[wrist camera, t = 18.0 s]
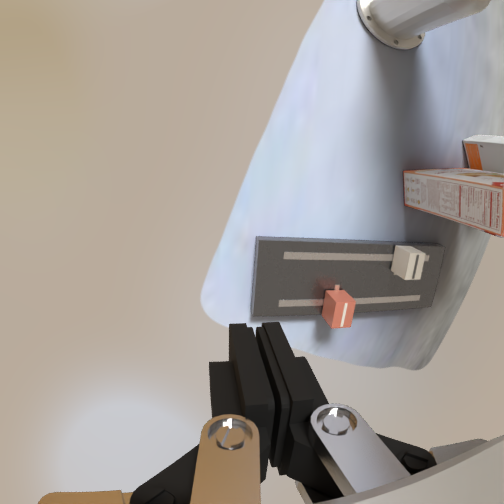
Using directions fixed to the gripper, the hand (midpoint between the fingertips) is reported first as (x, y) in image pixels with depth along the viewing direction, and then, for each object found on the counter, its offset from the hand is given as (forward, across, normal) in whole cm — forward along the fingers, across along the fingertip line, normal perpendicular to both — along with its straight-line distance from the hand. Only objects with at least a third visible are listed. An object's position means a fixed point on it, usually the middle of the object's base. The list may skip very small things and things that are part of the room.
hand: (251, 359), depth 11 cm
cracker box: (+34, -35, -5) cm, 49 cm away
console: (+33, -22, +10) cm, 41 cm away
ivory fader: (+31, -28, +7) cm, 42 cm away
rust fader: (+31, -17, +13) cm, 38 cm away
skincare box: (+34, -44, -12) cm, 57 cm away
